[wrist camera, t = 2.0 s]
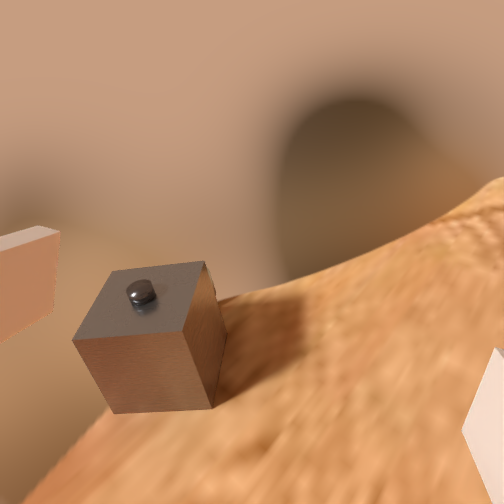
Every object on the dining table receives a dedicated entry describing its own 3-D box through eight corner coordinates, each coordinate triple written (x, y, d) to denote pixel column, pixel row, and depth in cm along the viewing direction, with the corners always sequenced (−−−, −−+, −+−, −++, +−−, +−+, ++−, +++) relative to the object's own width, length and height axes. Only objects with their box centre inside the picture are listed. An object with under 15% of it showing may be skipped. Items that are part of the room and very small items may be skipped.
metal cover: (143, 340, 53) (108, 261, 47) (227, 333, 51) (201, 250, 45) (113, 413, 44) (65, 329, 38) (211, 408, 42) (177, 320, 36)
